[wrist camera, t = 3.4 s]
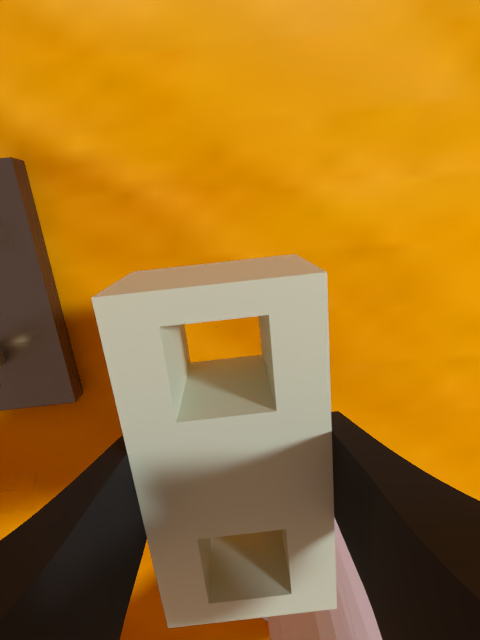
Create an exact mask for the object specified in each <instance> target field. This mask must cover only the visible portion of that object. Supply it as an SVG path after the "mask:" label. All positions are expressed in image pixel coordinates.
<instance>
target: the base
mask: <svg viewBox="0 0 480 640" xmlns="http://www.w3.org/2000/svg"><path fill="white" fill-rule="evenodd" d="M82 394H83V391H82V387H81V383H80V380H79V376H78V372H77V368H76V364H75V360H74V356H73V352H72V348H71V344H70V340H69V336H68V332H67V329H66V325H65V321H64V317H63V313H62V309H61V305H60V301H59V297H58V293H57V289H56V285H55V281H54V278H53V274H52V270H51V266H50V262H49V258H48V254H47V250H46V246H45V242H44V238H43V234H42V230H41V227H40V223H39V219H38V215H37V211H36V207H35V203H34V199H33V195H32V191H31V187H30V183H29V179H28V176H27V172H26V168H25V164H24V161H22V160H19V159H15V158H12V157H10V158H0V411H1V410H10V409H19V408H28V407H37V406H46V405H55V404H64V403H73V402H76V401H77V400H78V399H79V397H80V396H81V395H82Z"/></svg>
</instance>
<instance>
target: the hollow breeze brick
mask: <svg viewBox="0 0 480 640" xmlns="http://www.w3.org/2000/svg"><path fill="white" fill-rule="evenodd" d="M91 299H92V304H93V308H94V312H95V316H96V321H97V325H98V329H99V334H100V338H101V342H102V347H103V351H104V355H105V360H106V364H107V368H108V372H109V377H110V381H111V385H112V390H113V394H114V398H115V403H116V407H117V411H118V416H119V420H120V424H121V428H122V433H123V437H124V441H125V446H126V450H127V454H128V459H129V463H130V467H131V471H132V476H133V480H134V484H135V489H136V493H137V497H138V502H139V506H140V510H141V515H142V519H143V523H144V527H145V532H146V536H147V540H148V545H149V549H150V553H151V558H152V562H153V566H154V571H155V575H156V579H157V583H158V588H159V592H160V596H161V601H162V605H163V609H164V614H165V618H166V622H167V627H168V628H176V627H184V626H193V625H201V624H210V623H219V622H227V621H236V620H244V619H253V618H261V617H270V616H279V615H287V614H296V613H304V612H313V611H321V610H330V609H337V591H336V557H335V524H334V491H333V457H332V424H331V390H330V357H329V323H328V290H327V272H326V271H324V270H322V269H321V268H319V267H317V266H315V265H314V264H312V263H310V262H308V261H307V260H305V259H303V258H301V257H300V256H298V255H296V254H292V255H283V256H273V257H264V258H255V259H246V260H236V261H227V262H218V263H209V264H199V265H190V266H181V267H172V268H162V269H153V270H144V271H135V272H132V273H130V274H129V275H127V276H125V277H124V278H122V279H120V280H119V281H117V282H116V283H114V284H112V285H111V286H109V287H108V288H106V289H104V290H103V291H101V292H99V293H98V294H96V295H95V296H93V297H91ZM254 316H259V327H260V338H261V349H262V355H257V356H248V357H239V358H229V359H220V360H211V361H202V362H193V363H190V357H189V351H188V344H187V338H186V332H185V325H184V324H190V323H199V322H208V321H217V320H227V319H236V318H245V317H254Z"/></svg>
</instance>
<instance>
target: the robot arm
mask: <svg viewBox="0 0 480 640" xmlns="http://www.w3.org/2000/svg"><path fill="white" fill-rule="evenodd" d="M331 424H332V457H333V491H334V524H335V557H336V591H337V609H330V610H321V611H313V612H304V613H296V614H287V615H279V616H270V617H262V618H263V619H264V620H266V621H268V625H269V635H270V640H480V501H478V500H476V499H474V498H472V497H470V496H468V495H466V494H464V493H462V492H461V491H459V490H457V489H455V488H453V487H451V486H449V485H447V484H446V483H444V482H442V481H440V480H438V479H436V478H435V477H433V476H431V475H429V474H428V473H426V472H424V471H423V470H421V469H420V468H418V467H416V466H415V465H413V464H412V463H410V462H408V461H407V460H405V459H404V458H402V457H401V456H399V455H398V454H396V453H395V452H393V451H392V450H390V449H389V448H387V447H386V446H384V445H383V444H382V443H380V442H379V441H377V440H376V439H375V438H373V437H372V436H370V435H369V434H368V433H366V432H365V431H364V430H362V429H361V428H360V427H358V426H357V425H356V424H354V423H353V422H352V421H351V420H349V419H348V418H347V417H345V416H344V415H343V414H341V413H340V412H338V411H337V412H331ZM146 540H147V536H146V532H145V527H144V523H143V519H142V515H141V510H140V506H139V502H138V497H137V493H136V489H135V484H134V480H133V476H132V471H131V467H130V463H129V459H128V454H127V450H126V446H125V441H124V437H123V436H121V437H120V438H119V439H118V440H117V441H116V442H115V443H113V444H112V445H111V446H110V447H109V448H108V449H107V450H106V451H105V452H104V453H103V454H102V455H101V456H100V457H99V458H98V459H96V460H95V461H94V462H93V463H92V464H91V465H90V466H89V467H88V468H87V469H86V470H85V471H84V472H83V473H81V474H80V475H79V476H78V477H77V478H76V479H75V480H74V481H73V482H72V483H71V484H69V485H68V486H67V487H66V488H65V489H64V490H63V491H61V492H60V493H59V494H58V495H57V496H56V497H54V498H53V499H52V500H51V501H50V502H49V503H47V504H46V505H45V506H44V507H43V508H42V509H40V510H39V511H38V512H37V513H36V514H34V515H33V516H32V517H31V518H29V519H28V520H27V521H26V522H24V523H23V524H22V525H20V526H19V527H18V528H17V529H15V530H14V531H13V532H11V533H10V534H9V535H7V536H6V537H4V538H3V539H2V540H0V640H120V636H121V632H122V628H123V623H124V619H125V615H126V612H127V608H128V605H129V601H130V597H131V594H132V590H133V587H134V583H135V580H136V576H137V573H138V569H139V565H140V562H141V558H142V555H143V551H144V547H145V544H146Z"/></svg>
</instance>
